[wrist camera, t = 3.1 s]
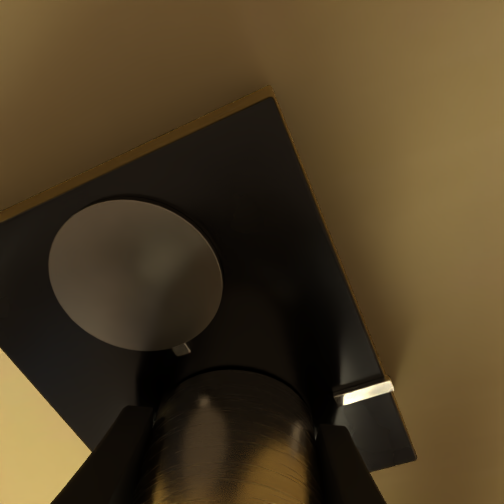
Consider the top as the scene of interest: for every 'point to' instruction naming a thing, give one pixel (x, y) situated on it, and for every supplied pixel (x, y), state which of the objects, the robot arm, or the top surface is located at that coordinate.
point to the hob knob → (231, 444)
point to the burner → (136, 273)
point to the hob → (234, 285)
